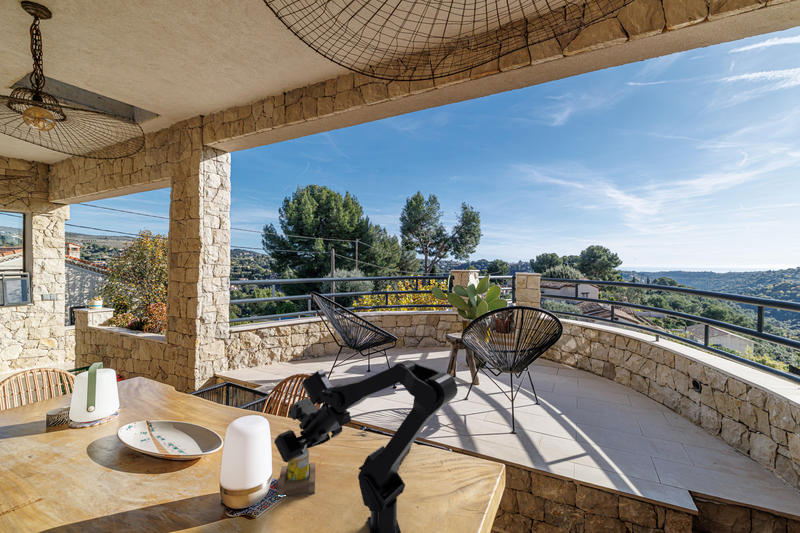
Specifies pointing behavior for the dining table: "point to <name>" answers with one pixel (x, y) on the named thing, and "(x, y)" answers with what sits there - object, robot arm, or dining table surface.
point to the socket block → (296, 483)
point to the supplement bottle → (299, 467)
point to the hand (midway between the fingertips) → (295, 451)
